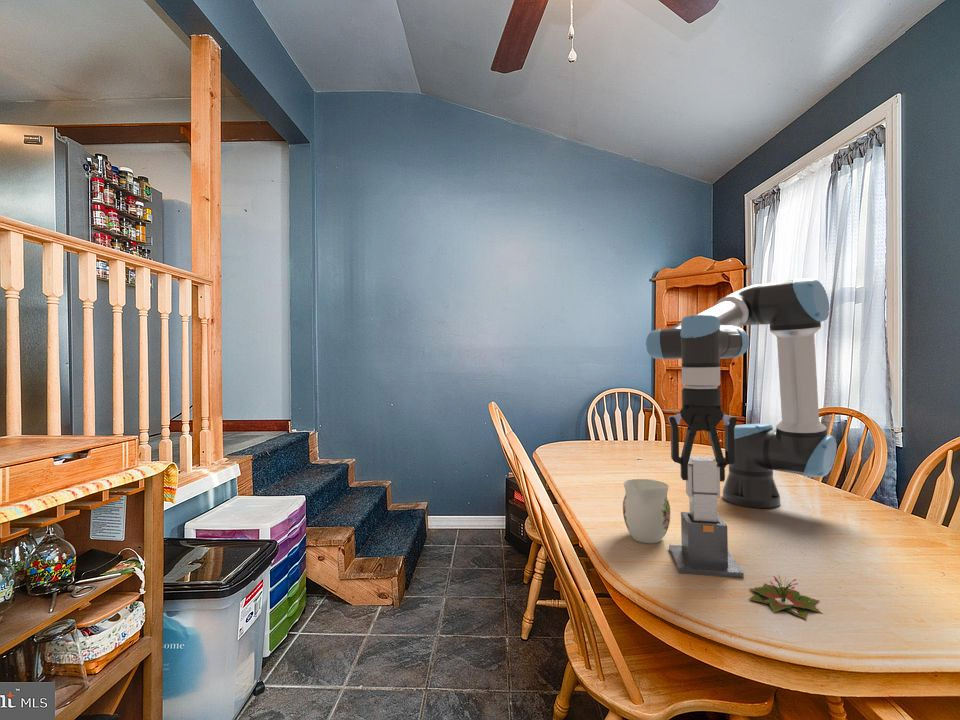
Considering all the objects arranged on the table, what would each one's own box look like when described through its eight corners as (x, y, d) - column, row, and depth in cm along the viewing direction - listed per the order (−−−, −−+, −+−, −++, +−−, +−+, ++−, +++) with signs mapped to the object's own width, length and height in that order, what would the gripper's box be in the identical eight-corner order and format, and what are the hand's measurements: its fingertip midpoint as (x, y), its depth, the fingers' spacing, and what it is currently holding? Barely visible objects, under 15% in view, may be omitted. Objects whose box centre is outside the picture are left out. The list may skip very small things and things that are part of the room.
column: (712, 538, 102) (711, 456, 102) (718, 547, 97) (717, 461, 97) (689, 537, 103) (688, 455, 103) (694, 545, 98) (692, 460, 98)
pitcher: (673, 527, 121) (672, 474, 121) (668, 554, 105) (667, 493, 105) (629, 521, 126) (628, 470, 126) (618, 546, 109) (617, 488, 109)
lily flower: (758, 581, 93) (758, 558, 93) (832, 604, 84) (832, 578, 84) (735, 603, 85) (735, 577, 85) (814, 631, 76) (814, 603, 76)
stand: (726, 553, 105) (725, 510, 105) (743, 578, 93) (742, 530, 93) (669, 549, 107) (668, 508, 107) (679, 572, 96) (678, 526, 96)
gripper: (740, 385, 102) (742, 492, 102) (654, 386, 106) (656, 488, 106) (752, 388, 94) (754, 503, 95) (659, 388, 98) (661, 498, 99)
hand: (702, 495), depth 100 cm, fingers closed on column, 5 cm apart
